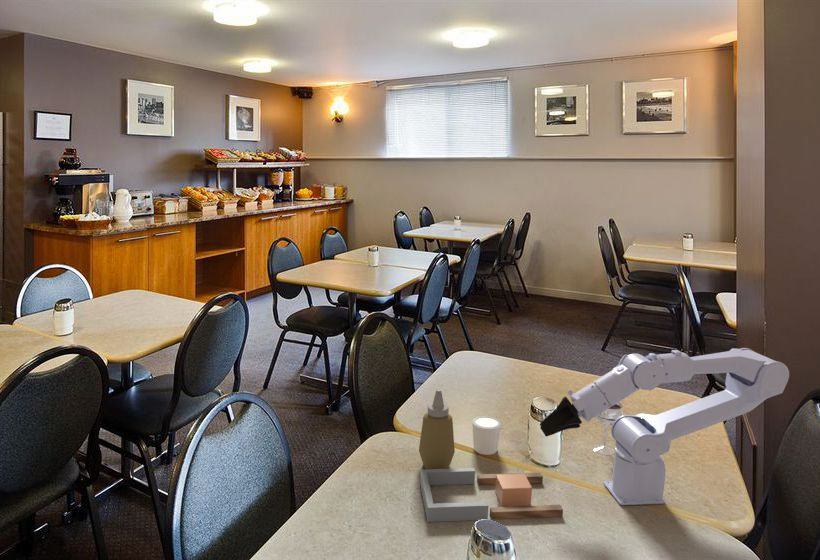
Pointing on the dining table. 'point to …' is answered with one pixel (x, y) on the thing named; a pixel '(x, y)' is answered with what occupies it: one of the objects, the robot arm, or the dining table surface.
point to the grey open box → (450, 509)
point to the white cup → (486, 434)
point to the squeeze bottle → (437, 435)
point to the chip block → (513, 489)
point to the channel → (520, 510)
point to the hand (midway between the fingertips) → (542, 430)
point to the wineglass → (607, 420)
